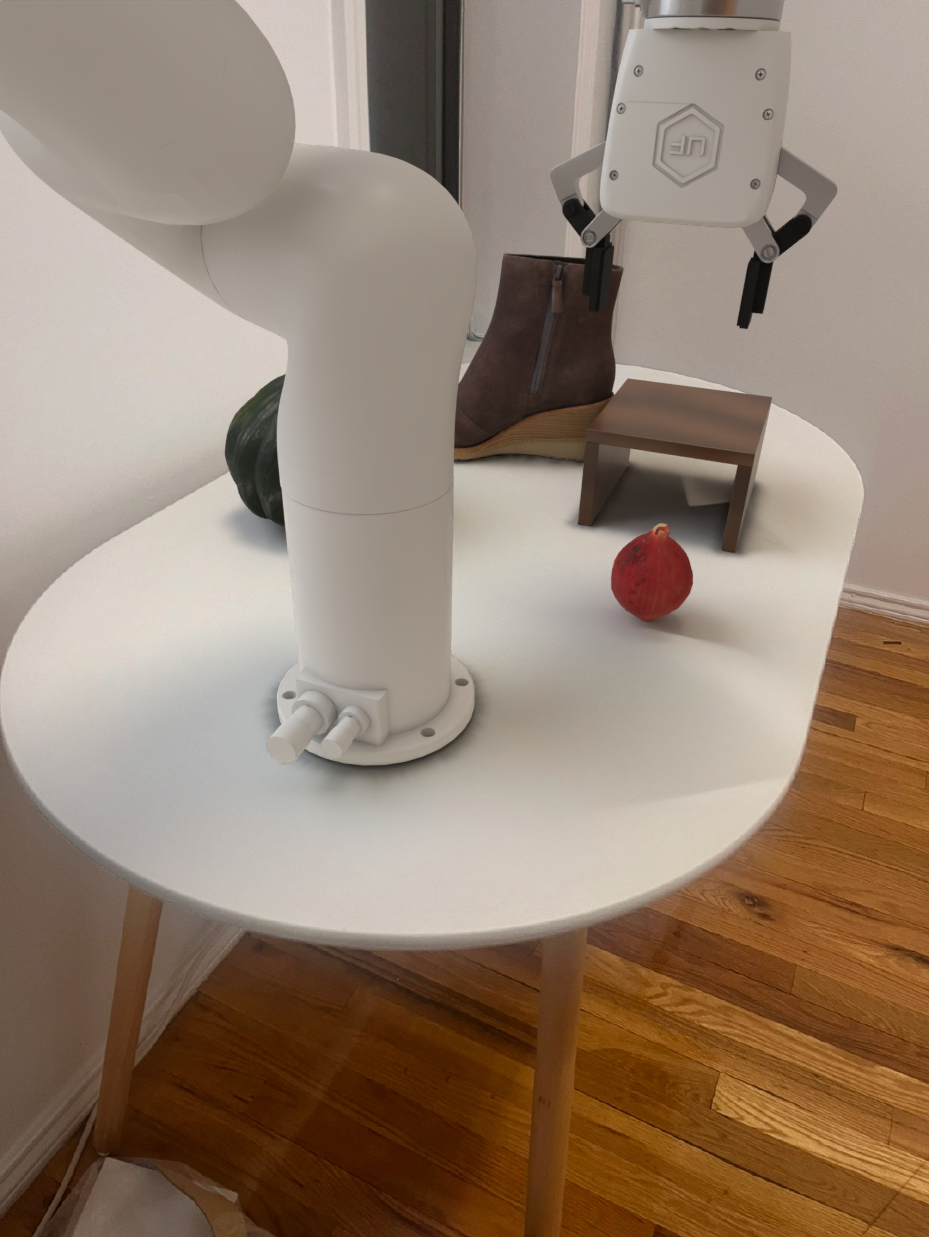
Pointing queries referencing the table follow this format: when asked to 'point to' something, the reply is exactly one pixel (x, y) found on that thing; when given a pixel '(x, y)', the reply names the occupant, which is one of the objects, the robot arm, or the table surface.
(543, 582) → the table surface
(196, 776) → the table surface
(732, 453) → the walnut shelf
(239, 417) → the squash
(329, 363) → the robot arm
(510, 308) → the boot
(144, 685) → the table surface
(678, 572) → the onion
